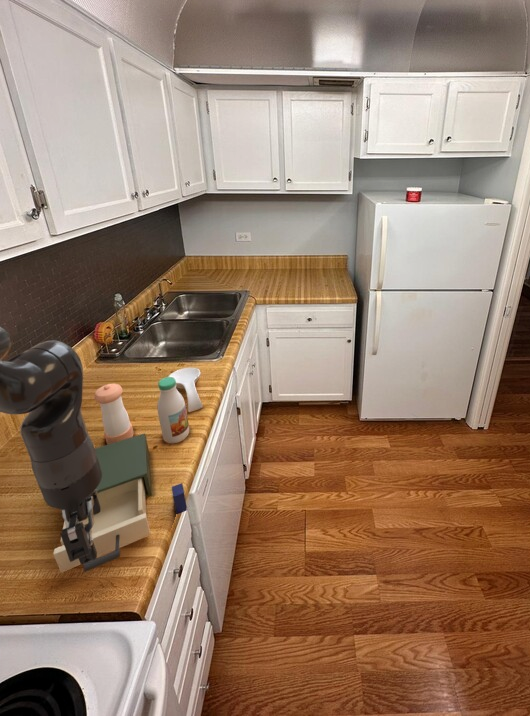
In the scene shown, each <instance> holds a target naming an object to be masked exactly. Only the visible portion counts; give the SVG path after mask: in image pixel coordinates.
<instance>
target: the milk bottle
mask: <svg viewBox="0 0 530 716" xmlns="http://www.w3.org/2000/svg"><path fill="white" fill-rule="evenodd" d="M157 384H158V385H157V386H158V390H159V398H158V400H157V403H156V404H157V416H158V421H159V426H160V431H161V436H162V439H163V441H164V442H166V443H168V444H179V443H181V442H182V441H184V440H185V439H186V438H187V437H188V436H189V433H190V425H189V417H188V411H187V407H186V406H187V405H186V402H185V399H184V397H183V395H182V393H181V392H180V391H178V388H177V387H176V381H175V379H174V378H173V377H169V376H166V377H163V378H161V379H159V381H158V383H157Z"/></svg>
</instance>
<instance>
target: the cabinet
mask: <svg viewBox="0 0 530 716" xmlns="http://www.w3.org/2000/svg"><path fill="white" fill-rule="evenodd" d="M94 448H95V451H96V455H97V458H98V461H99V465H100V468H101V471H102V478H101V481H100V483H99V485H98V487H97V490H98V493H99V492H102V491H105V490H108V489H111V488H113V487H116V486H119V485H122V484H125V483H128V482H130V481H133V480H136V479H139V478H142V477H143V480H144V484H145V499H146V498H148V497H151V496H152V495H153V492H152V491H153V489H152V472H151V471H152V470H151V454H150V449H149V444H148V440H147V435H146V433H145V432H144V433H141V434H138V435H134V436H133V437H131V438H128V439H125V440H121V441H118V442H115V443H111V444H104V445H101V446H99V447H94ZM60 510H61V511H62V509H60Z"/></svg>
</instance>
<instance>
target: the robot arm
mask: <svg viewBox="0 0 530 716" xmlns="http://www.w3.org/2000/svg"><path fill="white" fill-rule="evenodd" d="M12 345H13V337H12V334H11V333H10V332H9V331H8V330H6V329H5V328H3V327H2V326H0V413H2V414H7V415H14V416H15V415H25V414H27V415H26V416H25V417H24V418H23V420H22V421H21V424H20V428H19V429H20V434H21V439H22V441H23V443H24V444H23V445H24V447H25V448H26V451H27V453H28V456H29V459H30V464H31V465H30V466H31V469H32V472H33V475H34V478H35V480H36V483H37V486H38V488H39V490H40V492H41V495H42V497H43V500H44V503H45V504H46V505H47V506H48V507H50V508H52V509H57V510H58V509H59V510H61V509H62V510H61V515H62V518H63V520H64V521H65V525H66V528H65V529H63V528H61V531H60V538H61V537H62V540H63V543H64V546H65V549H66V552H67V554H68V557H69V560H70V562H72V561H74V560H76V559H78V558H79V561H80V564H81V565H83V566H84V564H86V563H88V562H91V561H93V560H95V559H97V558H98V557H97V551H96V548H95V545H94V542H93V539H92V531H91V529H92V527H93V526H94V515H95V514H98V513H100V510H101V507H100V504H99V501H98V498H97V493H98V490H97V487H98V485H99V483H100V481H101V478H102V471H101V468H100V465H99V461H98V458H97V455H96V451H95V448H96V447H95V445H94V442H93V440H92V438H91V436H90V434H89V432H88V428H87V425H86V423H85V419H84V416H83V413H82V405H83V391H84V368H83V364H82V360H81V358H80V355H78V353H77V352H76V350H75V349H74V348H72V346H71V345H69V344H67V343H66V342H63V341H61V340H55V339H54V340H46V341H45V340H44V341H42V342H40V343H37V344H35V345H34V346H32V347H30V348H28V349H27V350H25V351H22V352H21V353H20V354H18V355H16V356H14V357H12V358H11V359H9V360H7V361H5V360H3V359H4V358H5V357H6V356H7V354H8V353H9V352H10V350H11V347H12ZM87 518H88V523H87V524H85V525H84V524H83V522H81V521H83V520H85V519H87ZM79 522H81V523H79Z"/></svg>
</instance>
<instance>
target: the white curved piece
mask: <svg viewBox="0 0 530 716" xmlns="http://www.w3.org/2000/svg"><path fill="white" fill-rule="evenodd" d="M168 377H173V378H174V379H175V381H176V389H180V390H185V394H186V398H187V413H192V412H195V411H198V410H201V409H203V406H204V405H203V403H202V401H201V398H200V396H199V394H198V390H197V387H196V383H197V382H198V380H199V379H200V377H201V370H200V369H199V368H197V367H192V366H191V367H189V366H188V367H184V368H180V369H177V370H175V371H173V372H171V373H170V374H169V375H168Z"/></svg>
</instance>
